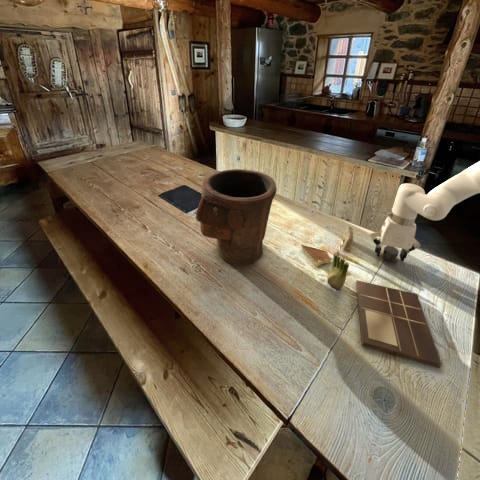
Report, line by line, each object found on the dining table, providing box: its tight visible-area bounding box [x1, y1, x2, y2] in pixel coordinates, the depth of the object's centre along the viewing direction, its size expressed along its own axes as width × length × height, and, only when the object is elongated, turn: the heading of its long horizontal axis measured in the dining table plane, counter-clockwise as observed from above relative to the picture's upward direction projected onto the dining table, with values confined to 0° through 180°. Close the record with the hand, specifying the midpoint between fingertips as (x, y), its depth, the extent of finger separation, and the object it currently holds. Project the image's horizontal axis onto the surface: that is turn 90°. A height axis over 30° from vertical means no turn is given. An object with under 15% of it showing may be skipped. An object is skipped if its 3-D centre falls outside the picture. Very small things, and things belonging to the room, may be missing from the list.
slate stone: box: [381, 245, 400, 263], centre depth 100 cm, size 5×5×4 cm
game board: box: [355, 280, 442, 369], centre depth 78 cm, size 18×22×2 cm
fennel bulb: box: [326, 252, 350, 290], centre depth 87 cm, size 6×5×12 cm
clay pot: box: [195, 168, 278, 266], centre depth 97 cm, size 25×29×30 cm
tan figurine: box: [336, 225, 354, 255], centre depth 106 cm, size 7×4×12 cm
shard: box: [300, 244, 333, 267], centre depth 102 cm, size 11×8×2 cm
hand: (389, 256), depth 101 cm, fingers open, 7 cm apart
